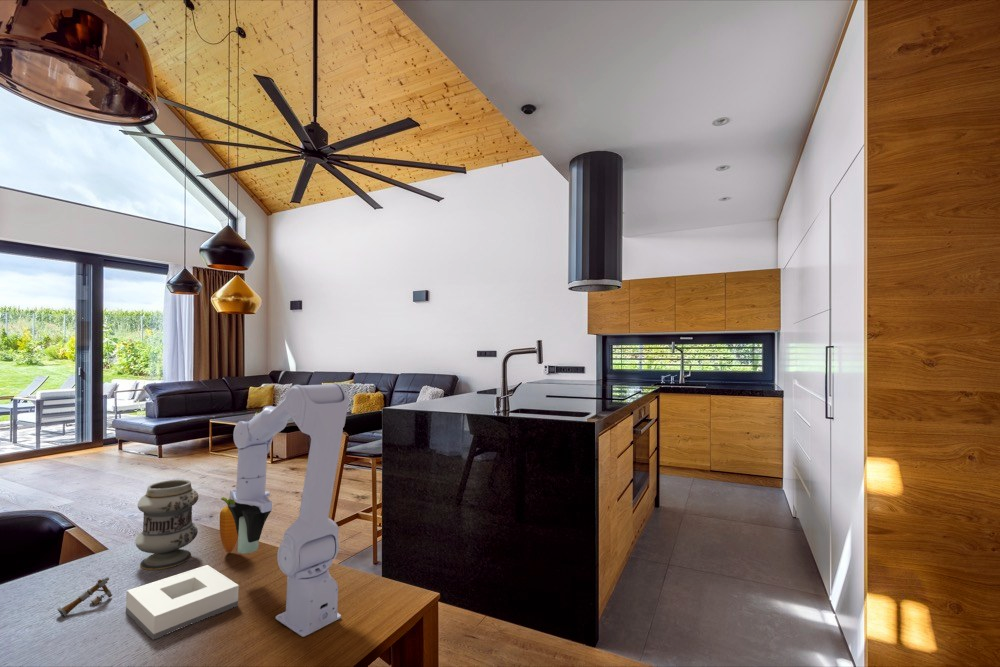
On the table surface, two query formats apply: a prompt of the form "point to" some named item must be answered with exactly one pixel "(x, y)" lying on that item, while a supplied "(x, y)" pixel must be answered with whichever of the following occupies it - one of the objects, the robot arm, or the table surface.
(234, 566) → the table surface
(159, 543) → the apothecary jar
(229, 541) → the carrot
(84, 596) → the wooden post with brackets
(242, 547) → the peg
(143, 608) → the socket block
